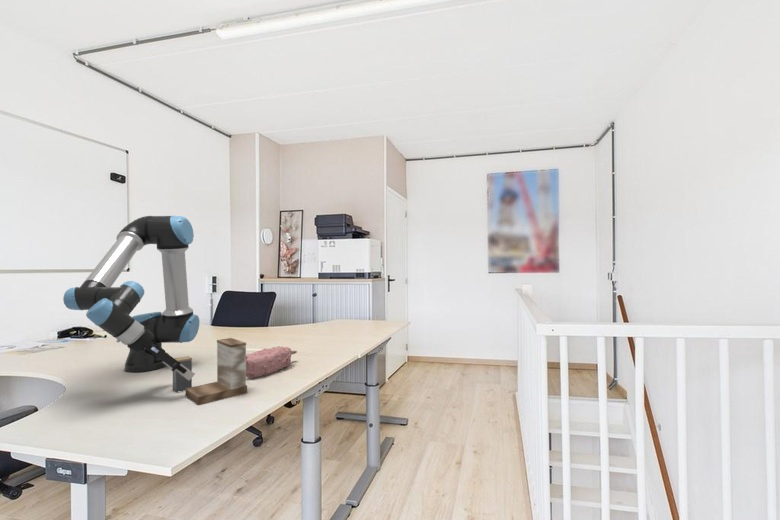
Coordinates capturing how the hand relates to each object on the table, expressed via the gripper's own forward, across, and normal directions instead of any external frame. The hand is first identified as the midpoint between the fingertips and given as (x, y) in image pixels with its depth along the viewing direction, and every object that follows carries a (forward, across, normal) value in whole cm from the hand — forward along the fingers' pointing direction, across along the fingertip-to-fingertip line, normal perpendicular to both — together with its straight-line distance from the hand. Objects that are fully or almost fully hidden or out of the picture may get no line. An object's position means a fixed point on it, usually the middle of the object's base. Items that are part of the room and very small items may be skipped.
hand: (185, 373), depth 137 cm
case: (+3, 0, -5) cm, 6 cm away
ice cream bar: (+28, -1, +19) cm, 34 cm away
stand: (+8, +14, 0) cm, 16 cm away
